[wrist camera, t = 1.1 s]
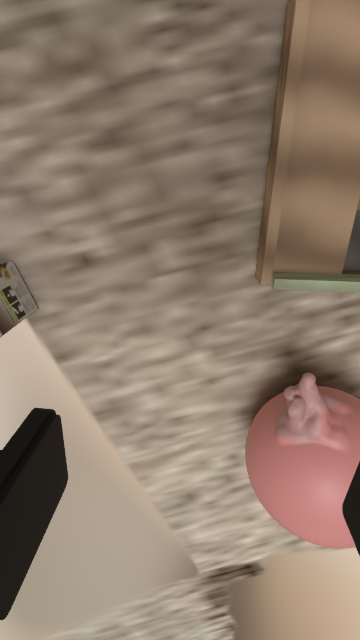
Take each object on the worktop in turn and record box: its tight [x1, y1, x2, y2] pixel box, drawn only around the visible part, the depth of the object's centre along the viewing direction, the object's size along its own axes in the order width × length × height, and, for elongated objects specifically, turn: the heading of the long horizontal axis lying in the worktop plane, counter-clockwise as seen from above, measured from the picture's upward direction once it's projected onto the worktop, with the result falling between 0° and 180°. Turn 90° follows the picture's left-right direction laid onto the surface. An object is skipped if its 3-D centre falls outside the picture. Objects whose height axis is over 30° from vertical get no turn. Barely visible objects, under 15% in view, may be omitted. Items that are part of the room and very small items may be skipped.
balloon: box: [245, 373, 360, 548], centre depth 33 cm, size 15×20×15 cm
